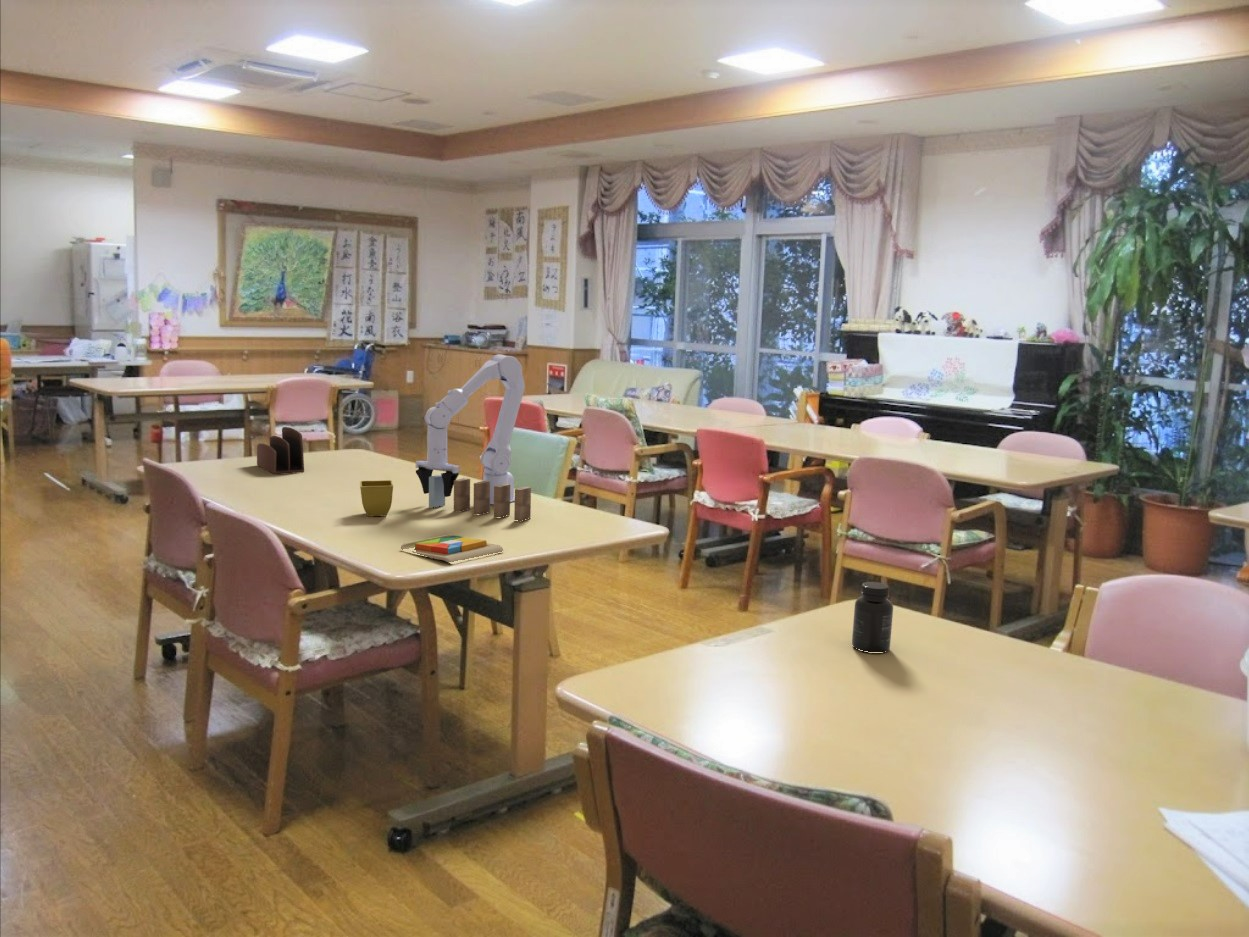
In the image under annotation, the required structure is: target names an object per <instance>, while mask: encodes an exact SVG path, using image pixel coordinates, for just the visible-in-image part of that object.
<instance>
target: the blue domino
mask: <svg viewBox="0 0 1249 937" xmlns="http://www.w3.org/2000/svg"><path fill="white" fill-rule="evenodd" d="M443 505H445V506H446V497H444V484H443V479H442V476H441V474H436V475H435V474H434V475H432V476H430V477H429V493H428V508H430V507H434V508H433V509H436V508H435V507H437V508H440V507H439V506H441V507H444V506H443Z"/></svg>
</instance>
